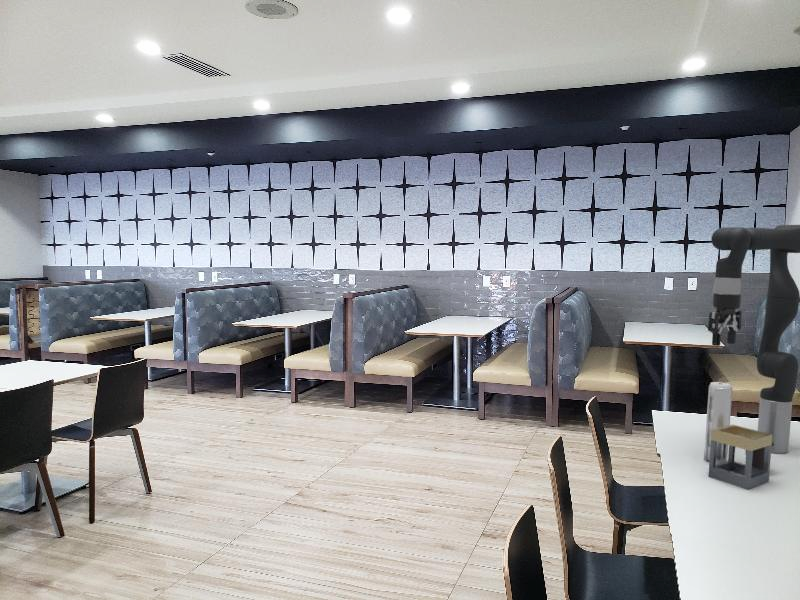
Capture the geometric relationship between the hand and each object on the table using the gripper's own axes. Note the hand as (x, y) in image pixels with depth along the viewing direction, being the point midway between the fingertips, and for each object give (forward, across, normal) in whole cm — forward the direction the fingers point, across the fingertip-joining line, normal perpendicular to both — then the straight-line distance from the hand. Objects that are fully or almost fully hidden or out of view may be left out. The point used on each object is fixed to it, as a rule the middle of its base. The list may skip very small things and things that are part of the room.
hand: (723, 344), depth 190 cm
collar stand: (+37, +9, +12) cm, 40 cm away
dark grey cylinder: (+37, -3, +11) cm, 39 cm away
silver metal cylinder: (+37, 0, 0) cm, 37 cm away
